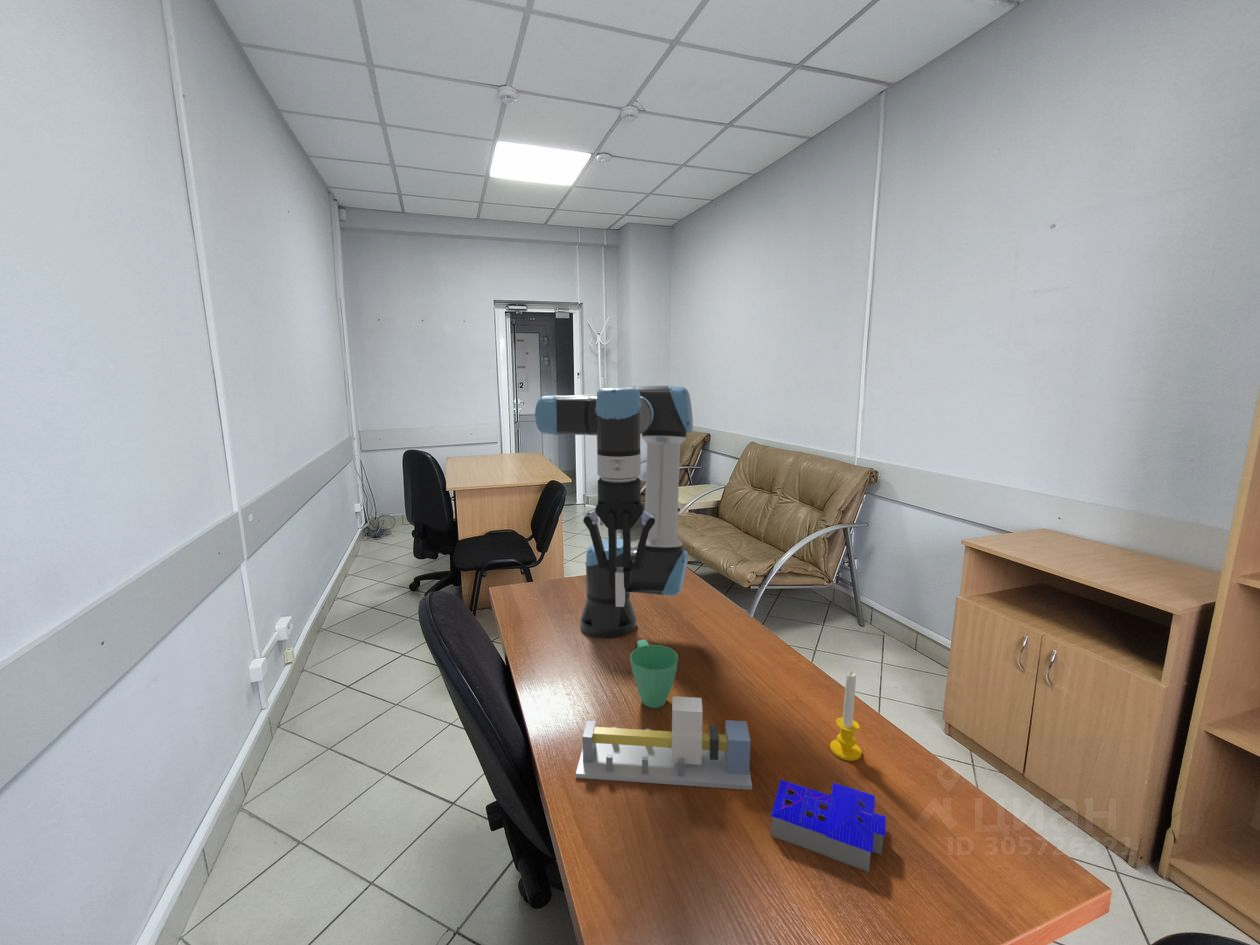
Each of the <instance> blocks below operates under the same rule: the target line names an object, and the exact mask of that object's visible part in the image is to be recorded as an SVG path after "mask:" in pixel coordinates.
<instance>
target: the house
mask: <svg viewBox="0 0 1260 945" xmlns="http://www.w3.org/2000/svg"><path fill="white" fill-rule="evenodd" d="M775 796H776V797H775V798H774V799H775V800H774V803H773V807H772V809H771V810H772V811H771V814H770V817H771V821H770V822H771V823H770V836H771V837H774V838H776V839H779V840H782V841H783V842H787V843H790V844H792V845H794V846H795V845H796V846H798V847H800V848H804V849H805V850H809V851H812V852H814V853H817V854H820V855H823V856H825V857H827V858H829V859H832V860H835V861H838V862H840V863H843V864H846V865H849V866H851V867H853V868H858V869H860V870H863V871H865V872H868V873H869V872H870V865H871V864H870V863H871V856H872V854H873V853H875V854H877V855H880V856H881V855H882V854H883V844H884V837H885V838H886V836H887V835H886V831H887V830H886V829H887V828H886V826H887V825H886V824H887V823H886V822H887V821H886V819H887V818H886V817H887V816H885V815H882V814H879V813H876V812H875V808H876V807H875V806H876V804H875V803H876V795H874V794H872V793H871V794H870V793H868V792H864V791H862V790H858V789H855V788H852V787H848V786H844V785H842V784H839V783H835V782H832V788H831V795H830V794H827V793H824V792H822V791H818V790H815V789H811V788H808V787H805V786H802V785H799V784H795V783H793V782H789V781H786V780H783V779H780V782H779V786H778V788H777V792H776V795H775ZM871 853H872V854H871Z"/></svg>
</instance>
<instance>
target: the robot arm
mask: <svg viewBox="0 0 1260 945" xmlns="http://www.w3.org/2000/svg"><path fill="white" fill-rule="evenodd" d="M534 408H535V410H534V420H535V421H534V422H535V425H536V428H537V430H538V431H539V432H540V433H541V434H544V435H545V434H546V435H554V436H557V435H558V436H559V435H562V436H563V435H564V436H565V435H567V436H568V435H569V436H572V435H573V436H582V435H583V436H596V449H597V450H596V452H597V454H596V456H597V457H596V458H597V460H596V462H597V464H596V465H597V466H596V467H597V471H596V472H597V474H596V475H597V476H598V477H599V479H598V480H597V504H596V506H595V508H594V510H593V511H591V512H590V513H586V514H585V515H584V517H583V520H582V522H583V524H584V525H585V526H586V528H587V529H588V531H589V535H590V538H591V541H592V544H590V546H589V547H588V548H587V550H586V556H585V558H586V559H585V560H586V561H585V562H584V563H585V572H586V573H585V574H586V575H585V579H586V580H585V581H586V582H585V584H586V600H585V602H584V606H583V609H582V613H581V615H580V619H579V620H580V622H579V623H580V629H581V631H582V632H584V633H585V634H586V635H589V636H591V637H595V638H599V639H600V638H601V639H615V638H619V637H624V636H626V635H629V634H631V633H632V632H633V631H634V630H635V629H636V628H637V617H636V616H637V615H636V612H635V610H634V607H633V604H632V601H631V596H630V594H631V593H638V594H646V595H647V594H648V595H658V596H677V595H679V594H680V593H681V592H682V589H683V585H684V581H685V577H686V574H687V573H686V572H687V566H688V561H689V560H688V557H689V553H688V551H687V550H685V549H683V542H682V541H681V540H680V539H679V538H678V515H679V489H680V488H679V486H680V458H681V445H682V444H683V443H684V442H685V441H686V440H687V433H690V432H693V429H694V426H693V421H694V419H693V409H692V408H693V407H692V402H691V396H690V392H689V391H688V389H687V388H685V387H683V386H675V385H628V386H622V387H617V386H616V387H603V388H600V389H599V390H597V392H596V394H575V395H556V394H553V395H542V396H541V397H539V399H537V402H536V404H535V407H534ZM641 439H642V440H643V441H644V442H645V443H646V446H647V447H646V472H645V474H646V476H645V497H644V498H645V499H644V500H645V502H644V503H645V504H644V506H643V504H642V500H641V495H642V493H641V489H642V488H641V486H642V484H641V483H642V480H641V479H640V478H639V476H641V472H642V471H641V470H642V468H641V467H642V464H641V462H642V459H641V458H642V457H641V455H642V452H641ZM640 518H641V521H640V522H641V524H642V525H641V526H642V529H641V532H640V535H639V536H640V537H639V539H638V541H637V547H632V528H633V527H634V526H635V525H636V523H637V522H638V521H639V519H640ZM599 519H600V520H601V522H602V523H603V525H604V526H605V528H607V535H608V536H607V537H608V539H605V540H603V538H602V536H601V533H600V529H599V525H598V522H599ZM617 530H621V531H622V538H617V537H618V536H617V534H618V533H617Z"/></svg>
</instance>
